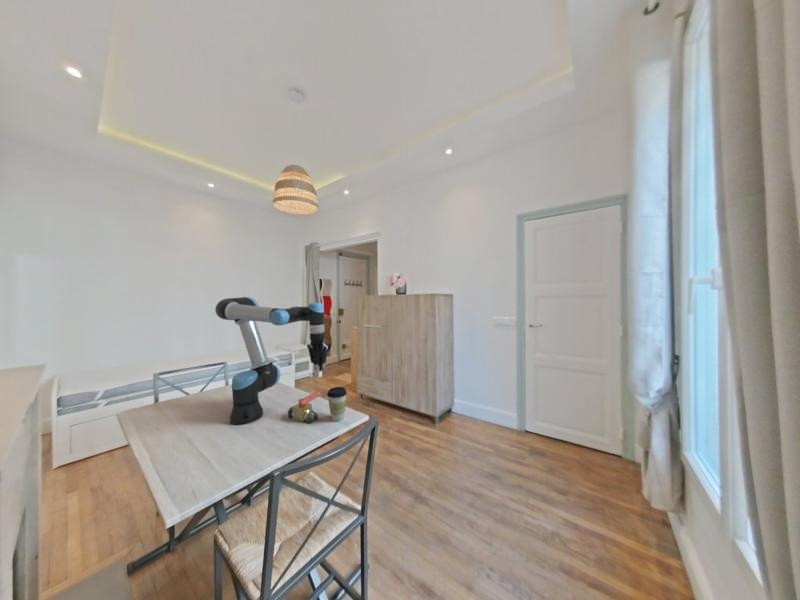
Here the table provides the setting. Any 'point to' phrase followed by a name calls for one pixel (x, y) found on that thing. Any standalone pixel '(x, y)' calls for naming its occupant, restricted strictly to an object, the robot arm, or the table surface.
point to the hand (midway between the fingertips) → (318, 376)
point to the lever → (308, 398)
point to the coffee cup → (337, 403)
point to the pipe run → (303, 413)
